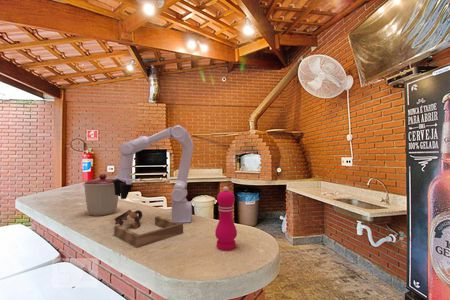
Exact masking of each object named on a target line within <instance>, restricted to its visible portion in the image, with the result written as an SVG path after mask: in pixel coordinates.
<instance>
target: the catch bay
mask: <svg viewBox="0 0 450 300" xmlns="http://www.w3.org/2000/svg"><path fill="white" fill-rule="evenodd" d="M154 225H155V226H157V227H160V228H158V229H155V230H151V231H147V232H145V233H144V232H143V233H140V234H139V233H136V232H134V231H132V230H129V229H128V228H125V227H124V226H121V225H119V224H116V225H114V227H113V231H114V232H113V233H114V234H113V235H114V236H115V237H117V238H118V239H120V240H121V241H122V240H123V241H125V242H126V243H128V244H130V245H132V246H133V247H134V248H135V247H136V248H140V247H143V246H147V245H150V244H152V243H153V244H154V243H155V242H159V241H162V240H165V239H168V238H172V237H175V236H177V235H182V234H184V224H183V223H178V222H175V221H172V220H171V219H168V218H165V217H162V216H159V215H156V216H154Z"/></svg>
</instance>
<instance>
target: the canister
mask: <svg viewBox="0 0 450 300" xmlns="http://www.w3.org/2000/svg"><path fill="white" fill-rule="evenodd" d="M113 180H116V179H115V178H107V174H106V173H101V174H99V175H98V178H96V179H89V180H87V181H84V182H83V183H82V186H84V194H85V195H84V196H85V202H86V210H87V212H88V214H89V215H90V216H95V217H96V216H97V217H98V216H107V215H111V214H113V213H115V212H116V210H117V207H118V204H119V197H120V195H115V188H114V183H113Z"/></svg>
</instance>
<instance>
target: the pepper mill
mask: <svg viewBox="0 0 450 300" xmlns="http://www.w3.org/2000/svg"><path fill="white" fill-rule="evenodd" d="M235 199H236V197H235V194H234V193H233V192H232V191H230V190H229V187H228V186H223V188H222V191H220V192H219V193H218V194H217V196H216V201H217V204H218V206H217V207H218V211H219V220H218V223H217V225H216V227H215V231H214V232H215V234H214V235H215V237H216V239H217V241H216V247H217V249H219V250H222V251H230V250H234V249H235V248H236V243H237V242H236V240H235V239H236V238H237V236H238V232H237V230H238V229H237V227H236V225H235V223H234V219H233V211H234V205H233V204H235V201H236V200H235Z"/></svg>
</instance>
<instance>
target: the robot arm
mask: <svg viewBox="0 0 450 300" xmlns="http://www.w3.org/2000/svg"><path fill="white" fill-rule="evenodd" d="M165 139H175V140H176V141H177V142H179V144H180V145H181V147H182V151H181V156H180V157H181V158H180V161H179V167H178V172H177V176H176V181H175V184H174V186H173V189H172V191H171V192H170V199H171V218H170V220H172V221H175V222H178V223H181V224H183V223H185V224H186V223H191V222H192V219H193V201H188V199H187V196H188V187H187V185H188V177H189V172H190V168H191V164H192V163H191V162H192V157H193V152H194V147H195V145H194V142H193V140H192V137H191V134H190V132H189V131H188V130H187V129H186V128H184V127H183V126H181V125H179V124H178V125H174V126H170V127H168V128H165V129H164V130H160V131H159V132H157V133H155V134H152V135H150V136H145V135H139V136H138V138H136V139H130V140H129V142H127V141H123V143H121V144H120V145H119V152H120V156H119V162H118V168H117V174H115V176H114V177H113V179H116V180H113V183H114V188H115V195H119V196H120V199H121V200H126V199H127V198H128V195H129V193H130V191H131V189H132V188H133V187H134V184H133V183H132V179H131V174H132V169H133V162H134V155H135V154H136V153H138V152H141V151H143V150H145V149H148V148H150V146H151V145H152V143H153V144H155V143H156V142H159V141H162V140H165Z"/></svg>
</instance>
